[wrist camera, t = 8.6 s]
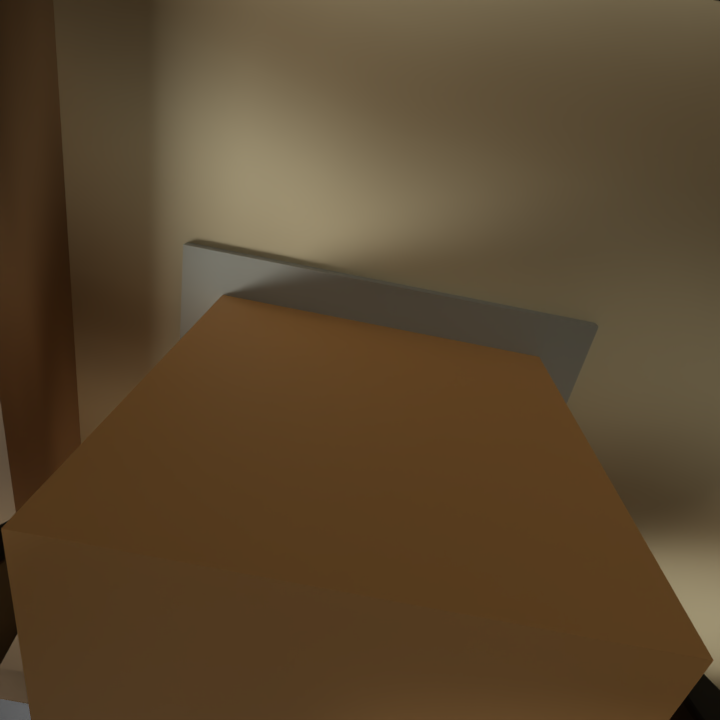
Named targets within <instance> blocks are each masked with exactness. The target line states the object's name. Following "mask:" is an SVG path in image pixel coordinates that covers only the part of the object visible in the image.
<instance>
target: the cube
mask: <svg viewBox="0 0 720 720" xmlns="http://www.w3.org/2000/svg"><path fill="white" fill-rule="evenodd" d="M1 532H2V538H3V544H4V551H5V557H6V563H7V570H8V576H9V582H10V589H11V595H12V601H13V608H14V614H15V620H16V627H17V633H18V639H19V646H20V652H21V658H22V665H23V671H24V678H25V684H26V690H27V697H28V703H29V709H30V716H31V720H669V719H670V718H671V717H672V715H673V714H674V713H675V711H676V710H677V709H678V707H679V706H680V705H681V703H682V702H683V701H684V699H685V698H686V697H687V695H688V694H689V693H690V691H691V690H692V689H693V687H694V686H695V685H696V683H697V682H698V681H699V679H700V678H701V677H702V675H703V674H704V673H705V671H706V670H707V669H708V667H709V666H710V665H711V663H712V662H713V661H714V660H713V658H712V657H711V655H710V653H709V651H708V650H707V648H706V646H705V644H704V643H703V641H702V639H701V637H700V636H699V634H698V632H697V630H696V629H695V627H694V625H693V624H692V622H691V620H690V618H689V617H688V615H687V613H686V611H685V610H684V608H683V606H682V604H681V603H680V601H679V599H678V597H677V596H676V594H675V592H674V590H673V589H672V587H671V585H670V583H669V582H668V580H667V578H666V577H665V575H664V573H663V571H662V570H661V568H660V566H659V564H658V563H657V561H656V559H655V557H654V556H653V554H652V552H651V550H650V549H649V547H648V545H647V543H646V542H645V540H644V538H643V537H642V535H641V533H640V531H639V530H638V528H637V526H636V524H635V523H634V521H633V519H632V517H631V516H630V514H629V512H628V510H627V509H626V507H625V505H624V503H623V502H622V500H621V498H620V496H619V495H618V493H617V491H616V490H615V488H614V486H613V484H612V483H611V481H610V479H609V477H608V476H607V474H606V472H605V470H604V469H603V467H602V465H601V463H600V462H599V460H598V458H597V456H596V455H595V453H594V451H593V449H592V448H591V446H590V444H589V443H588V441H587V439H586V437H585V436H584V434H583V432H582V430H581V429H580V427H579V425H578V423H577V422H576V420H575V418H574V416H573V415H572V413H571V411H570V409H569V408H568V406H567V404H566V403H565V401H564V399H563V397H562V396H561V394H560V392H559V390H558V389H557V387H556V385H555V383H554V382H553V380H552V378H551V376H550V375H549V373H548V371H547V369H546V368H545V366H544V364H543V362H542V361H541V359H540V357H538V356H533V355H528V354H523V353H518V352H512V351H507V350H502V349H497V348H492V347H487V346H482V345H477V344H472V343H467V342H461V341H456V340H451V339H446V338H441V337H436V336H431V335H426V334H421V333H416V332H410V331H405V330H400V329H395V328H390V327H385V326H380V325H375V324H370V323H365V322H359V321H354V320H349V319H344V318H339V317H334V316H329V315H324V314H319V313H314V312H308V311H303V310H298V309H293V308H288V307H283V306H278V305H273V304H268V303H263V302H257V301H252V300H247V299H242V298H237V297H232V296H227V295H222V296H221V297H220V298H219V299H218V300H217V301H216V302H215V303H214V304H213V305H212V307H211V308H210V309H209V310H208V311H207V312H206V313H205V314H204V315H203V316H202V317H201V318H200V319H199V320H198V321H197V322H196V323H195V324H194V325H193V327H192V328H191V329H190V330H189V331H188V332H187V333H186V334H185V335H184V336H183V337H182V338H181V339H180V340H179V341H178V342H177V343H176V344H175V346H174V347H173V348H172V349H171V350H170V351H169V352H168V353H167V354H166V355H165V356H164V357H163V358H162V359H161V360H160V361H159V362H158V363H157V365H156V366H155V367H154V368H153V369H152V370H151V371H150V372H149V373H148V374H147V375H146V376H145V377H144V378H143V379H142V380H141V381H140V382H139V384H138V385H137V386H136V387H135V388H134V389H133V390H132V391H131V392H130V393H129V394H128V395H127V396H126V397H125V398H124V399H123V400H122V401H121V402H120V404H119V405H118V406H117V407H116V408H115V409H114V410H113V411H112V412H111V413H110V414H109V415H108V416H107V417H106V418H105V419H104V420H103V421H102V423H101V424H100V425H99V426H98V427H97V428H96V429H95V430H94V431H93V432H92V433H91V434H90V435H89V436H88V437H87V438H86V439H85V440H84V442H83V443H82V444H81V445H80V446H79V447H78V448H77V449H76V450H75V451H74V452H73V453H72V454H71V455H70V456H69V457H68V458H67V459H66V461H65V462H64V463H63V464H62V465H61V466H60V467H59V468H58V469H57V470H56V471H55V472H54V473H53V474H52V475H51V476H50V477H49V478H48V480H47V481H46V482H45V483H44V484H43V485H42V486H41V487H40V488H39V489H38V490H37V491H36V492H35V493H34V494H33V495H32V496H31V497H30V498H29V500H28V501H27V502H26V503H25V504H24V505H23V506H22V507H21V508H20V509H19V510H18V511H17V512H16V513H15V514H14V515H13V516H12V517H11V519H10V520H9V521H8V522H7V523H6V524H5V525H4V526H3V527H2V528H1Z"/></svg>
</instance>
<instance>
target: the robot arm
mask: <svg viewBox="0 0 720 720" xmlns="http://www.w3.org/2000/svg"><path fill="white" fill-rule="evenodd" d="M8 521H9V520H8ZM8 521H6V522H4V523H2V524H0V665H1V663H2V661H3V659H4V657H5V656H6V654H7V652H8V650H9V648H10V646H11V645H12V643H13V641H14V639H15V637H16V635H17V634H18V633H17V627H16V620H15V614H14V608H13V601H12V595H11V589H10V582H9V576H8V570H7V563H6V557H5V551H4V544H3V538H2V532H1V528H2V527H3V526H4V525H5V524H6V523H7V522H8ZM669 720H720V689H719V688H718V687H717V686H716V685H715V684H714V683H713V682H712V681H711V680H710V679H709V678H708V677H707V676H706V675H705V674H703V675H702V677H701V678H700V679H699V681H698V682H697V683H696V685H695V686H694V687H693V689H692V690H691V691H690V693H689V694H688V695H687V697H686V698H685V699H684V701H683V702H682V703H681V705H680V706H679V707H678V709H677V710H676V711H675V713H674V714H673V715H672V717H671V718H670V719H669Z"/></svg>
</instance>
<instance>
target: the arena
mask: <svg viewBox="0 0 720 720" xmlns="http://www.w3.org/2000/svg"><path fill="white" fill-rule="evenodd" d="M222 295H227V296H232V297H237V298H242V299H247V300H252V301H257V302H263V303H268V304H273V305H278V306H283V307H288V308H293V309H298V310H303V311H308V312H314V313H319V314H324V315H329V316H334V317H339V318H344V319H349V320H354V321H359V322H365V323H370V324H375V325H380V326H385V327H390V328H395V329H400V330H405V331H410V332H416V333H421V334H426V335H431V336H436V337H441V338H446V339H451V340H456V341H461V342H467V343H472V344H477V345H482V346H487V347H492V348H497V349H502V350H507V351H512V352H518V353H523V354H528V355H533V356H538V357H540V359H541V361H542V362H543V364H544V366H545V368H546V369H547V371H548V373H549V375H550V376H551V378H552V380H553V382H554V383H555V385H556V387H557V389H558V390H559V392H560V394H561V396H562V397H563V399H564V401H565V403H566V404H567V406H568V408H569V409H570V411H571V413H572V415H573V416H574V418H575V420H576V422H577V423H578V425H579V427H580V429H581V430H582V432H583V434H584V436H585V437H586V439H587V441H588V443H589V444H590V446H591V448H592V449H593V451H594V453H595V455H596V456H597V458H598V460H599V462H600V463H601V465H602V467H603V469H604V470H605V472H606V474H607V476H608V477H609V479H610V481H611V483H612V484H613V486H614V488H615V490H616V491H617V493H618V495H619V496H620V498H621V500H622V502H623V503H624V505H625V507H626V509H627V510H628V512H629V514H630V516H631V517H632V519H633V521H634V523H635V524H636V526H637V528H638V530H639V531H640V533H641V535H642V537H643V538H644V540H645V542H646V543H647V545H648V547H649V549H650V550H651V552H652V554H653V556H654V557H655V559H656V561H657V563H658V564H659V566H660V568H661V570H662V571H663V573H664V575H665V577H666V578H667V580H668V582H669V583H670V585H671V587H672V589H673V590H674V592H675V594H676V596H677V597H678V599H679V601H680V603H681V604H682V606H683V608H684V610H685V611H686V613H687V615H688V617H689V618H690V620H691V622H692V624H693V625H694V627H695V629H696V630H697V632H698V634H699V636H700V637H701V639H702V641H703V643H704V644H705V646H706V648H707V650H708V651H709V653H710V655H711V657H712V658H713V660H714V661H713V662H712V663H711V665H710V666H709V667H708V669H707V670H706V671H705V673H704V674H705V675H706V676H707V677H708V678H709V679H710V680H711V681H712V682H713V683H714V684H715V685H716V686H717V687H718V688H719V689H720V1H716V0H0V524H2V523H4V522H6V521H8V520H10V519H11V517H12V516H13V515H14V514H15V513H16V512H17V511H18V510H19V509H20V508H21V507H22V506H23V505H24V504H25V503H26V502H27V501H28V500H29V498H30V497H31V496H32V495H33V494H34V493H35V492H36V491H37V490H38V489H39V488H40V487H41V486H42V485H43V484H44V483H45V482H46V481H47V480H48V478H49V477H50V476H51V475H52V474H53V473H54V472H55V471H56V470H57V469H58V468H59V467H60V466H61V465H62V464H63V463H64V462H65V461H66V459H67V458H68V457H69V456H70V455H71V454H72V453H73V452H74V451H75V450H76V449H77V448H78V447H79V446H80V445H81V444H82V443H83V442H84V440H85V439H86V438H87V437H88V436H89V435H90V434H91V433H92V432H93V431H94V430H95V429H96V428H97V427H98V426H99V425H100V424H101V423H102V421H103V420H104V419H105V418H106V417H107V416H108V415H109V414H110V413H111V412H112V411H113V410H114V409H115V408H116V407H117V406H118V405H119V404H120V402H121V401H122V400H123V399H124V398H125V397H126V396H127V395H128V394H129V393H130V392H131V391H132V390H133V389H134V388H135V387H136V386H137V385H138V384H139V382H140V381H141V380H142V379H143V378H144V377H145V376H146V375H147V374H148V373H149V372H150V371H151V370H152V369H153V368H154V367H155V366H156V365H157V363H158V362H159V361H160V360H161V359H162V358H163V357H164V356H165V355H166V354H167V353H168V352H169V351H170V350H171V349H172V348H173V347H174V346H175V344H176V343H177V342H178V341H179V340H180V339H181V338H182V337H183V336H184V335H185V334H186V333H187V332H188V331H189V330H190V329H191V328H192V327H193V325H194V324H195V323H196V322H197V321H198V320H199V319H200V318H201V317H202V316H203V315H204V314H205V313H206V312H207V311H208V310H209V309H210V308H211V307H212V305H213V304H214V303H215V302H216V301H217V300H218V299H219V298H220V297H221V296H222ZM0 699H5V700H10V701H16V702H22V703H27V704H29V703H28V697H27V690H26V684H25V678H24V671H23V665H22V658H21V652H20V646H19V639H18V634H17V635H16V637H15V639H14V641H13V643H12V645H11V646H10V648H9V650H8V652H7V654H6V656H5V657H4V659H3V661H2V663H1V665H0Z"/></svg>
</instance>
